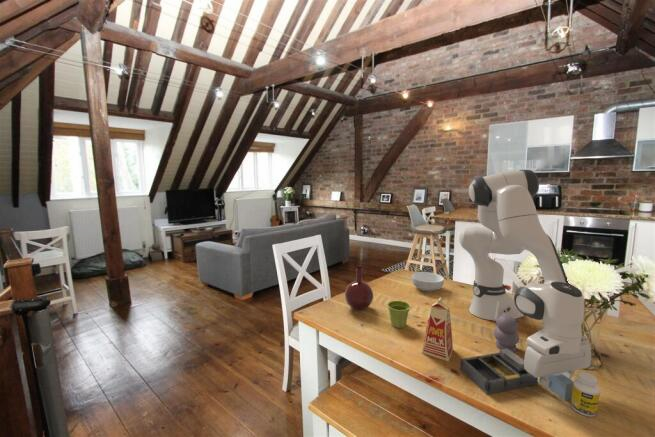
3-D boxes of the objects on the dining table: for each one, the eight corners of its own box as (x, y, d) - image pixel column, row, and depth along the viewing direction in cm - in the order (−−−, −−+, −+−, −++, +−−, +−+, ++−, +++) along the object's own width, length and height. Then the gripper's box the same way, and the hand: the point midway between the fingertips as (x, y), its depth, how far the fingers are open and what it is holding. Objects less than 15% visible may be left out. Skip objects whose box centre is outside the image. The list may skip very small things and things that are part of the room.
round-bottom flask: (341, 304, 150) (341, 265, 147) (366, 301, 153) (366, 262, 150) (350, 316, 137) (350, 273, 134) (377, 312, 141) (378, 270, 138)
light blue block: (547, 380, 94) (548, 365, 93) (573, 398, 86) (574, 382, 86) (539, 381, 94) (540, 366, 93) (564, 400, 86) (566, 384, 85)
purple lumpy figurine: (488, 341, 116) (490, 311, 114) (508, 340, 116) (510, 310, 115) (502, 354, 107) (504, 322, 106) (523, 353, 108) (526, 321, 106)
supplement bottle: (577, 416, 80) (581, 381, 79) (566, 401, 85) (570, 368, 84) (601, 419, 79) (606, 384, 78) (588, 403, 84) (592, 371, 83)
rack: (460, 368, 100) (461, 351, 99) (505, 361, 104) (507, 344, 103) (486, 394, 88) (488, 375, 87) (537, 384, 92) (538, 366, 91)
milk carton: (448, 361, 104) (451, 305, 101) (421, 353, 109) (422, 299, 106) (453, 348, 112) (456, 295, 109) (427, 341, 116) (429, 290, 114)
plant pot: (410, 331, 124) (411, 310, 123) (386, 329, 126) (387, 309, 125) (409, 320, 133) (409, 301, 132) (387, 318, 135) (387, 299, 134)
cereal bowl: (439, 297, 157) (439, 284, 156) (407, 291, 166) (407, 278, 165) (446, 287, 171) (447, 274, 170) (416, 281, 180) (417, 270, 179)
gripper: (578, 329, 93) (573, 371, 95) (521, 338, 89) (518, 382, 91) (600, 340, 87) (595, 385, 89) (541, 350, 82) (536, 397, 85)
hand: (555, 384), depth 90 cm, fingers open, 5 cm apart
